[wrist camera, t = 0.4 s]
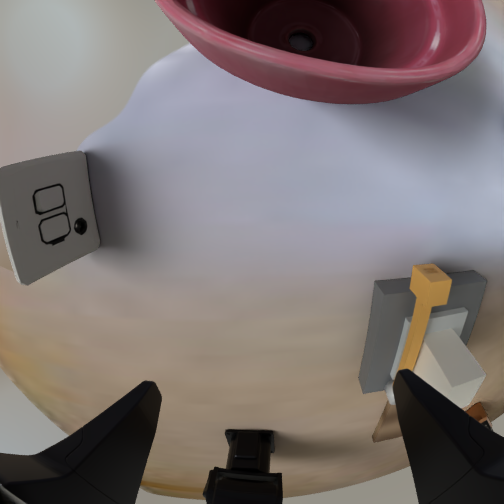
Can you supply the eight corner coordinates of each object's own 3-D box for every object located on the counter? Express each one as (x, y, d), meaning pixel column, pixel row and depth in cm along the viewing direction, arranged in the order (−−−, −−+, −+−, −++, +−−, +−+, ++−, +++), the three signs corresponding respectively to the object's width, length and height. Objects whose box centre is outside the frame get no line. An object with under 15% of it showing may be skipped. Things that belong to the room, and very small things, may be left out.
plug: (436, 348, 24) (473, 410, 15) (383, 359, 25) (412, 432, 15) (452, 295, 22) (506, 354, 12) (396, 303, 22) (442, 377, 13)
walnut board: (437, 419, 29) (440, 424, 28) (372, 436, 31) (373, 442, 29) (466, 368, 25) (469, 373, 24) (392, 387, 26) (395, 394, 25)
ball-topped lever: (399, 389, 23) (407, 409, 20) (382, 392, 23) (389, 413, 20) (433, 263, 18) (452, 279, 15) (413, 265, 18) (430, 282, 15)
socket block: (446, 359, 25) (454, 372, 22) (358, 377, 26) (363, 393, 24) (473, 270, 21) (487, 280, 18) (374, 280, 22) (384, 294, 20)
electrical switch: (103, 247, 23) (33, 290, 14) (71, 248, 24) (6, 285, 15) (88, 148, 20) (5, 161, 11) (55, 161, 21) (-18, 177, 12)
